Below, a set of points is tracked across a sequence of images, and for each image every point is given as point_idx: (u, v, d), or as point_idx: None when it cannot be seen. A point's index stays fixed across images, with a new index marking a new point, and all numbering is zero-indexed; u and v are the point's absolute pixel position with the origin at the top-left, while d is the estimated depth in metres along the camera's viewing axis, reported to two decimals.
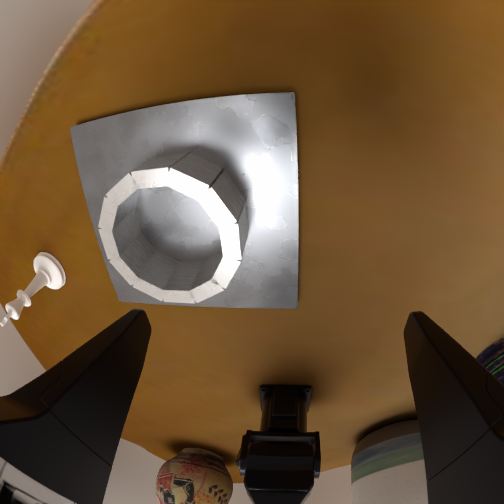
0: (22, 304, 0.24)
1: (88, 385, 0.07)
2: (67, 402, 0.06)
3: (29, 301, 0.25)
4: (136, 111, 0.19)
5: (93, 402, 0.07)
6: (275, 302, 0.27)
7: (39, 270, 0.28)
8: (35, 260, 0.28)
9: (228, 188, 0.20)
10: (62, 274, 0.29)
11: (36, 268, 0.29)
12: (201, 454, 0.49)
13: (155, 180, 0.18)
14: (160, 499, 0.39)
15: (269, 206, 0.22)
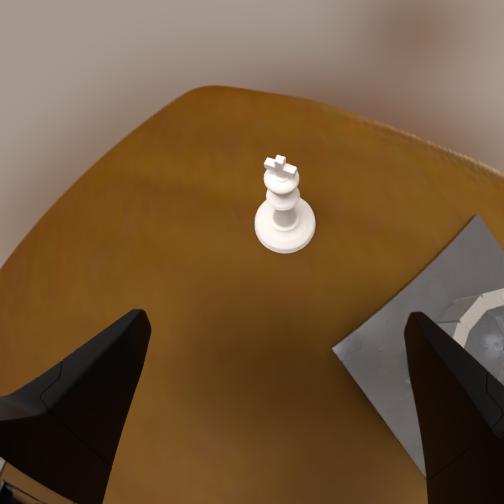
0: (287, 196, 0.18)
1: (88, 385, 0.07)
2: (67, 402, 0.06)
3: (288, 207, 0.19)
4: None
5: (93, 402, 0.07)
6: None
7: (295, 208, 0.23)
8: None
9: None
10: (300, 246, 0.23)
11: None
12: None
13: None
14: None
15: None
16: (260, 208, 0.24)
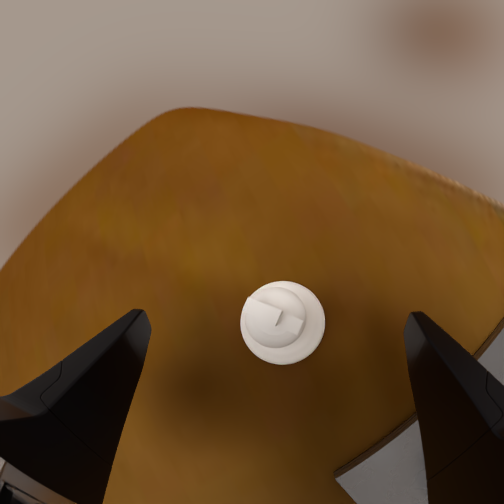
0: None
1: (88, 385, 0.07)
2: (67, 402, 0.06)
3: None
4: None
5: (93, 402, 0.07)
6: None
7: None
8: (296, 287, 0.17)
9: None
10: (303, 357, 0.16)
11: None
12: None
13: None
14: None
15: None
16: None
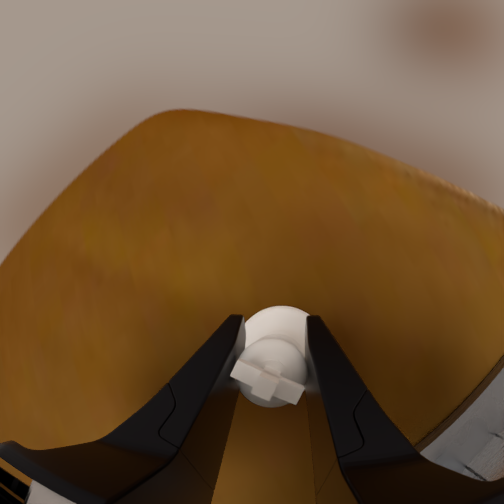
0: None
1: (209, 408, 0.06)
2: (193, 434, 0.05)
3: None
4: None
5: (211, 426, 0.06)
6: None
7: (297, 341, 0.14)
8: (296, 314, 0.15)
9: None
10: None
11: (278, 322, 0.15)
12: None
13: None
14: None
15: None
16: None
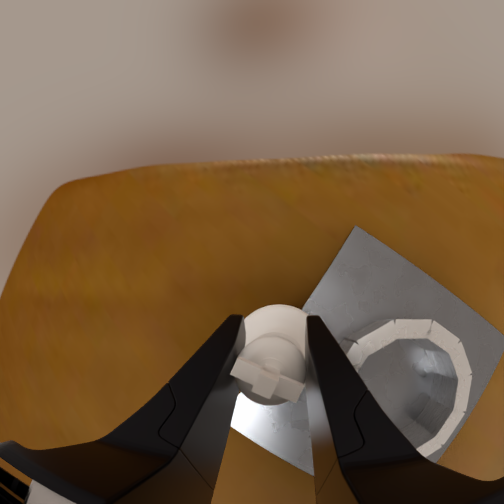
0: None
1: (209, 408, 0.06)
2: (193, 434, 0.05)
3: None
4: (423, 273, 0.21)
5: (211, 426, 0.06)
6: None
7: (294, 340, 0.14)
8: (293, 312, 0.15)
9: None
10: None
11: (276, 321, 0.15)
12: None
13: (445, 342, 0.16)
14: None
15: None
16: None
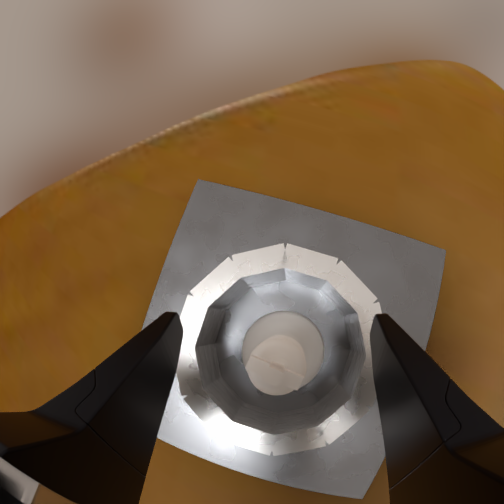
0: None
1: (126, 394, 0.06)
2: (105, 414, 0.06)
3: None
4: (289, 203, 0.20)
5: (130, 412, 0.07)
6: (340, 488, 0.14)
7: (297, 342, 0.16)
8: (296, 318, 0.17)
9: None
10: (303, 385, 0.16)
11: (280, 325, 0.17)
12: None
13: (314, 267, 0.14)
14: None
15: None
16: (249, 334, 0.17)
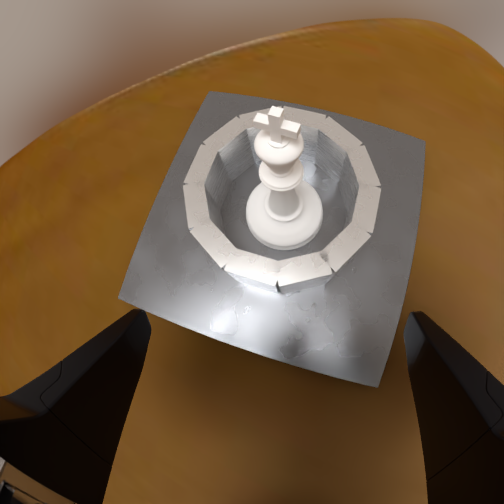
0: (287, 170, 0.13)
1: (88, 385, 0.07)
2: (67, 402, 0.06)
3: (290, 187, 0.13)
4: (286, 103, 0.21)
5: (93, 402, 0.07)
6: (353, 370, 0.16)
7: (297, 192, 0.18)
8: None
9: None
10: (305, 241, 0.18)
11: None
12: None
13: (307, 120, 0.16)
14: None
15: (387, 230, 0.18)
16: (252, 193, 0.19)
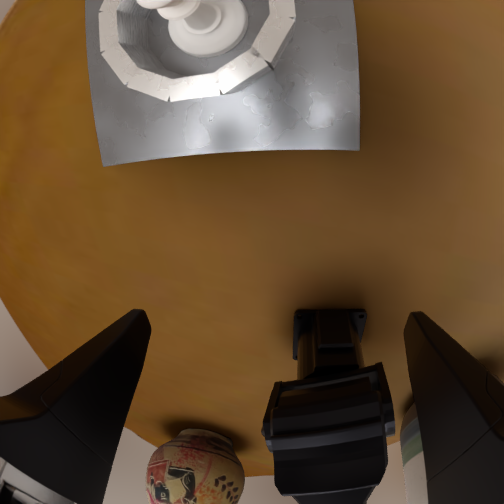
0: (181, 0, 0.09)
1: (88, 385, 0.07)
2: (67, 402, 0.06)
3: (192, 10, 0.10)
4: None
5: (93, 402, 0.07)
6: (329, 138, 0.17)
7: (210, 3, 0.12)
8: None
9: None
10: (237, 38, 0.14)
11: None
12: (205, 436, 0.40)
13: None
14: (150, 495, 0.30)
15: (319, 3, 0.13)
16: (170, 21, 0.14)
